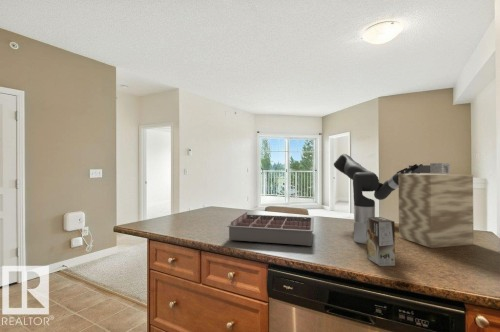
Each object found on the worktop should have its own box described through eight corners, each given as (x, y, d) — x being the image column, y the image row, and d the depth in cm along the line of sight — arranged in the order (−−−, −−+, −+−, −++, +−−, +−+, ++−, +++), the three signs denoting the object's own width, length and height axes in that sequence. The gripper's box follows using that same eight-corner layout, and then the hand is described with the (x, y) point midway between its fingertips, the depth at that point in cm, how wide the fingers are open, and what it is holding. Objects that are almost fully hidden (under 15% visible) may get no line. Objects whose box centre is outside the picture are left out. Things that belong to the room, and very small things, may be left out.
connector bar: (449, 173, 123) (449, 163, 123) (441, 173, 122) (441, 163, 122) (414, 172, 142) (414, 163, 142) (407, 172, 141) (407, 163, 141)
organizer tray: (313, 249, 110) (313, 226, 110) (226, 243, 120) (226, 222, 120) (313, 231, 141) (313, 213, 141) (244, 227, 151) (244, 211, 151)
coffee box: (396, 265, 91) (395, 221, 91) (379, 266, 90) (379, 221, 91) (380, 257, 100) (380, 216, 100) (365, 257, 100) (365, 216, 100)
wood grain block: (473, 244, 117) (472, 174, 117) (431, 247, 111) (430, 174, 112) (436, 234, 134) (436, 173, 135) (398, 237, 129) (398, 173, 129)
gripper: (385, 174, 151) (406, 159, 137) (405, 174, 154) (427, 159, 140) (390, 186, 147) (412, 171, 133) (410, 185, 150) (433, 171, 136)
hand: (419, 165), depth 136 cm, fingers closed on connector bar, 3 cm apart
